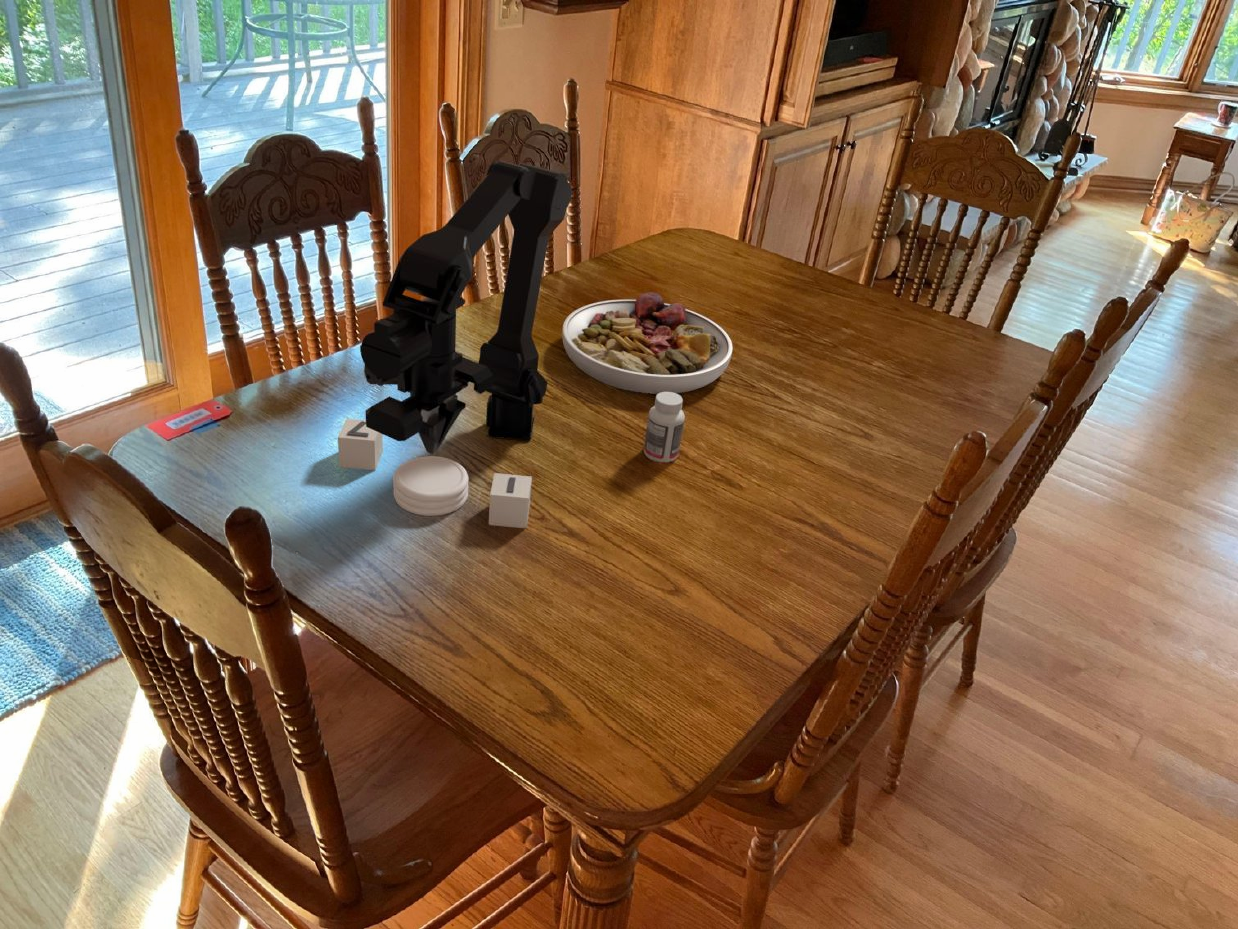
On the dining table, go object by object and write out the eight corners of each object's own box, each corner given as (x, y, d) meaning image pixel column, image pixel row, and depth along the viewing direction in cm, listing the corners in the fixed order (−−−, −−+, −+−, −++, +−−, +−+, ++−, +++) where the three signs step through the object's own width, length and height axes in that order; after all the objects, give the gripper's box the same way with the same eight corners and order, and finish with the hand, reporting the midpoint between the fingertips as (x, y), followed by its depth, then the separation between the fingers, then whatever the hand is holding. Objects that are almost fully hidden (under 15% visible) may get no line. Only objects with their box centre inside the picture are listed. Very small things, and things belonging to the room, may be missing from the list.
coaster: (386, 480, 135) (386, 459, 133) (457, 471, 139) (457, 450, 137) (402, 523, 127) (402, 501, 126) (476, 511, 131) (477, 490, 129)
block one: (529, 506, 133) (532, 475, 130) (526, 528, 129) (528, 497, 126) (493, 503, 133) (494, 471, 130) (488, 525, 129) (490, 493, 126)
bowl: (734, 411, 162) (742, 369, 158) (554, 392, 161) (558, 349, 156) (721, 332, 187) (728, 294, 183) (566, 315, 186) (569, 277, 182)
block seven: (383, 451, 140) (382, 420, 138) (375, 470, 136) (374, 439, 133) (348, 448, 140) (346, 417, 137) (339, 467, 136) (337, 436, 133)
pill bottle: (670, 442, 151) (679, 387, 146) (683, 461, 147) (693, 405, 142) (637, 446, 149) (645, 390, 144) (650, 465, 145) (659, 408, 140)
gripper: (429, 304, 131) (429, 404, 139) (328, 352, 117) (335, 460, 125) (497, 329, 127) (492, 431, 135) (400, 382, 113) (402, 492, 121)
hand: (431, 452), depth 129 cm, fingers closed
